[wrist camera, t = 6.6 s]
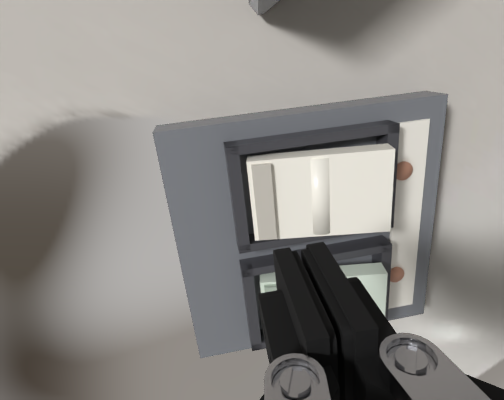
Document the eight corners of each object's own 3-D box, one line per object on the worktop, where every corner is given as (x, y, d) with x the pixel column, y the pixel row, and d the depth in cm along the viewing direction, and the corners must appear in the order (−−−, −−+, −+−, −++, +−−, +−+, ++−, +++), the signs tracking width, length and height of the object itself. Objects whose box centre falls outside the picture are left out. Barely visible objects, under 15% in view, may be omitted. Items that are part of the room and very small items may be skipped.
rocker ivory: (386, 142, 23) (397, 150, 21) (383, 220, 25) (392, 233, 23) (247, 154, 23) (245, 163, 21) (255, 229, 25) (254, 243, 24)
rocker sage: (380, 260, 26) (389, 276, 24) (377, 320, 28) (385, 338, 26) (259, 269, 27) (259, 285, 25) (266, 327, 29) (266, 345, 27)
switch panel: (425, 91, 26) (463, 96, 23) (407, 296, 34) (434, 325, 30) (156, 125, 24) (150, 137, 21) (199, 336, 32) (200, 373, 28)
